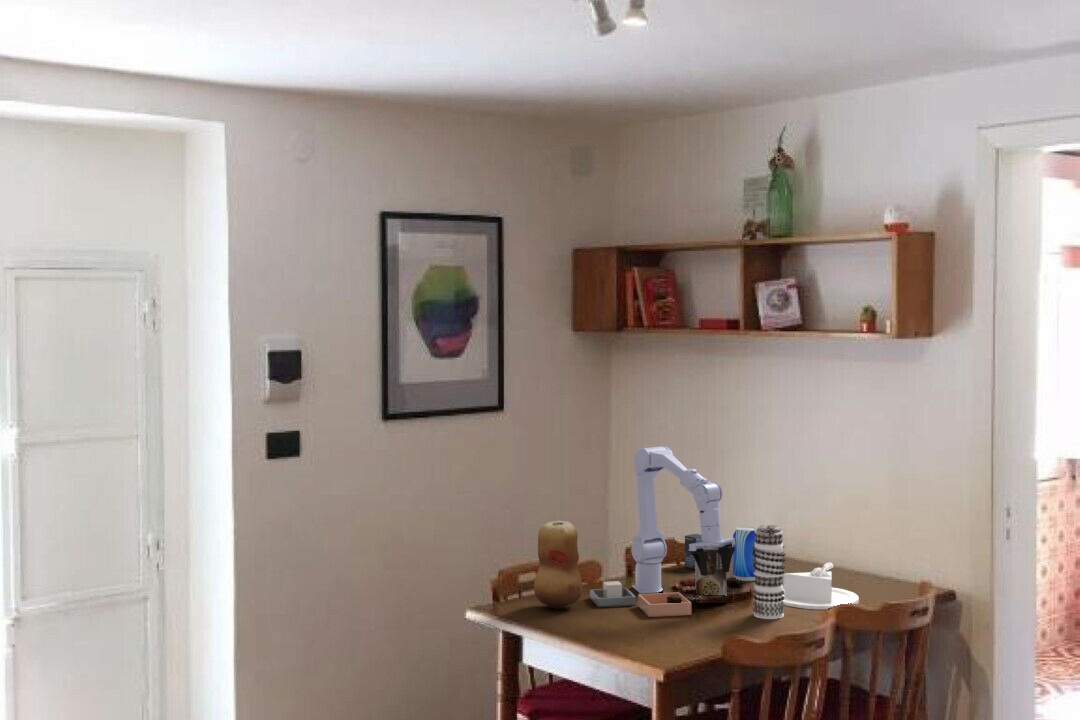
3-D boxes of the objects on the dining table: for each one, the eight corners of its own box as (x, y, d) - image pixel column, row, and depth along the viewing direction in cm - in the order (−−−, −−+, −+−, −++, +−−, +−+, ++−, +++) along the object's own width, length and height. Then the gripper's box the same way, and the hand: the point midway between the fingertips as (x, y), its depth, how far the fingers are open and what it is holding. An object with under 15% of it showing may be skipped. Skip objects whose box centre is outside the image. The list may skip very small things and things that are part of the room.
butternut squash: (533, 614, 351) (532, 526, 350) (535, 602, 364) (534, 517, 363) (582, 614, 350) (581, 526, 349) (582, 602, 364) (582, 517, 362)
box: (684, 567, 410) (684, 535, 409) (697, 564, 413) (697, 533, 412) (700, 571, 403) (700, 539, 403) (713, 569, 407) (713, 536, 406)
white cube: (603, 598, 366) (603, 581, 366) (618, 597, 367) (618, 581, 367) (606, 602, 362) (606, 585, 361) (622, 601, 362) (621, 584, 362)
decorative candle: (749, 611, 352) (749, 523, 351) (782, 611, 352) (782, 523, 351) (754, 619, 343) (754, 529, 342) (788, 619, 343) (788, 529, 341)
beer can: (740, 574, 398) (740, 524, 397) (764, 577, 393) (764, 527, 392) (728, 579, 391) (728, 529, 390) (752, 582, 386) (752, 531, 386)
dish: (857, 591, 375) (857, 554, 374) (859, 612, 351) (859, 573, 350) (774, 588, 381) (774, 551, 380) (770, 608, 356) (770, 569, 356)
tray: (589, 598, 369) (589, 589, 369) (626, 596, 371) (626, 587, 371) (598, 607, 358) (598, 598, 358) (636, 605, 360) (636, 596, 360)
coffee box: (725, 599, 366) (725, 544, 365) (727, 604, 360) (727, 549, 359) (694, 598, 367) (694, 544, 366) (695, 604, 361) (695, 548, 360)
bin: (638, 606, 359) (638, 594, 358) (679, 604, 361) (679, 592, 360) (649, 617, 347) (649, 604, 346) (691, 614, 349) (691, 602, 348)
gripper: (697, 528, 347) (702, 577, 346) (739, 523, 354) (744, 571, 353) (683, 528, 353) (687, 576, 352) (725, 522, 360) (729, 569, 359)
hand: (715, 573), depth 353 cm, fingers open, 7 cm apart
